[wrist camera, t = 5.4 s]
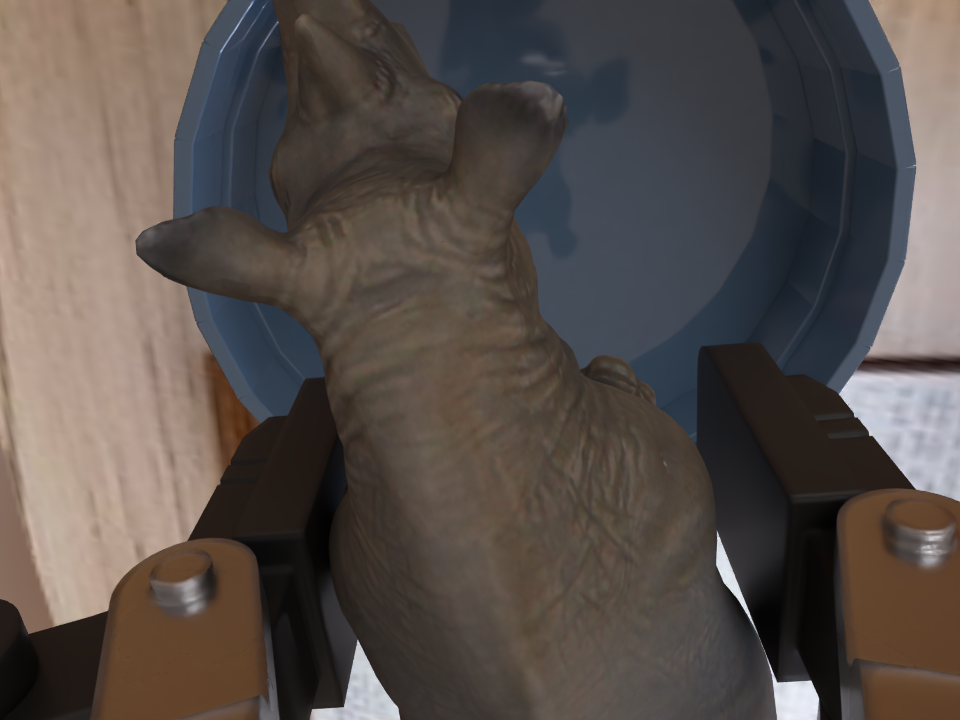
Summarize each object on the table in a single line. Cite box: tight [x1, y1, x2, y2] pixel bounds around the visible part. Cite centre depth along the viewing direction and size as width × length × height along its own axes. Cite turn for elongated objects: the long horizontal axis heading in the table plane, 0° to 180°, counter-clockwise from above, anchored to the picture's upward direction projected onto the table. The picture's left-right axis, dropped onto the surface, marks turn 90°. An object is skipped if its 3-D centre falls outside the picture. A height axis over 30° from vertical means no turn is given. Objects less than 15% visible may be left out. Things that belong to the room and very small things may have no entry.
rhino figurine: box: [136, 0, 777, 720], centre depth 9 cm, size 4×14×6 cm, turn 19°
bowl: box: [173, 0, 916, 445], centre depth 22 cm, size 17×17×5 cm
